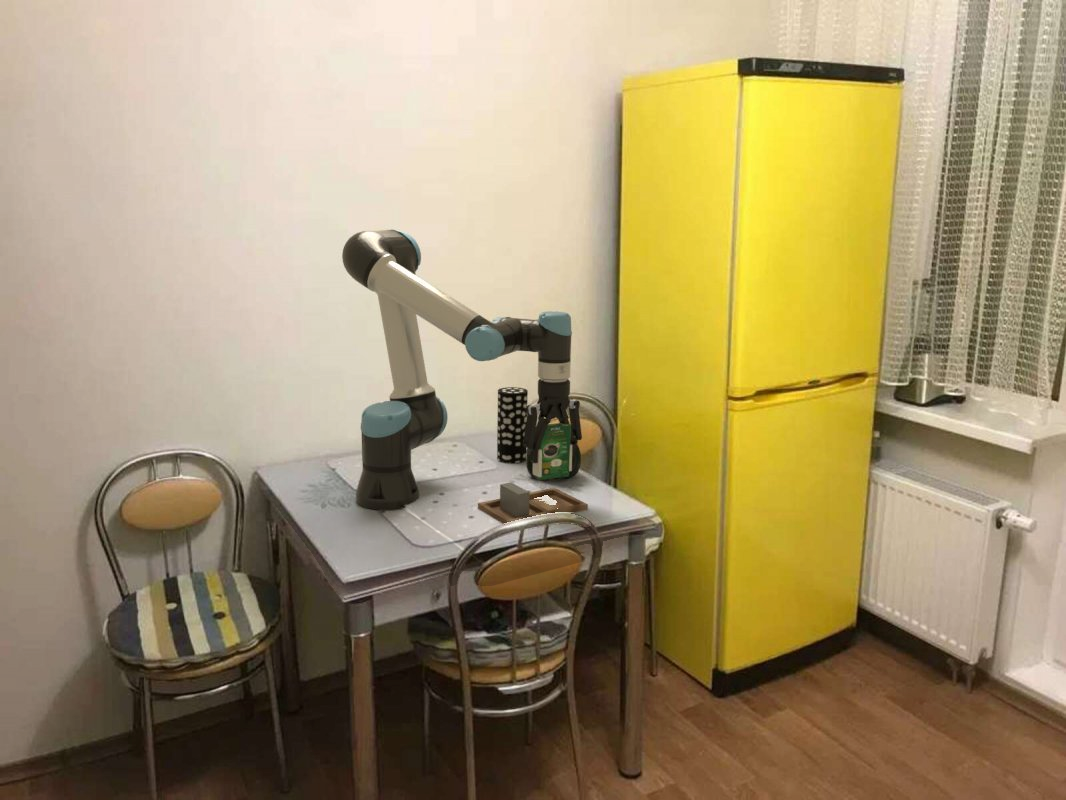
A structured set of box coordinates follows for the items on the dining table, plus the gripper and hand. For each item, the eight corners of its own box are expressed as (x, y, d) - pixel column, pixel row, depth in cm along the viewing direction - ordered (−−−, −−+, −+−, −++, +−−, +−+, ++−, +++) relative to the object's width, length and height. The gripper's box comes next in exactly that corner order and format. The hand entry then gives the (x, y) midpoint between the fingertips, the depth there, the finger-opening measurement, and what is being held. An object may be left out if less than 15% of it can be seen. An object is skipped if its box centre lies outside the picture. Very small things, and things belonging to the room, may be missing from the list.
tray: (509, 530, 192) (509, 521, 192) (477, 511, 203) (477, 503, 203) (587, 512, 204) (587, 504, 203) (553, 495, 215) (554, 487, 215)
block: (518, 519, 197) (518, 494, 195) (499, 508, 203) (500, 484, 202) (529, 516, 198) (529, 492, 197) (510, 506, 205) (511, 482, 203)
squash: (506, 455, 229) (537, 421, 220) (543, 446, 240) (573, 413, 231) (535, 499, 224) (567, 465, 215) (570, 487, 235) (602, 455, 227)
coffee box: (565, 473, 208) (566, 421, 205) (570, 477, 205) (571, 424, 202) (534, 477, 204) (535, 424, 201) (539, 481, 202) (540, 427, 199)
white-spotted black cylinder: (492, 456, 246) (493, 388, 241) (519, 453, 250) (520, 386, 245) (504, 464, 239) (504, 394, 234) (531, 461, 242) (532, 392, 238)
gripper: (525, 386, 190) (524, 484, 196) (599, 377, 202) (596, 469, 207) (507, 380, 197) (506, 475, 202) (580, 371, 208) (578, 461, 213)
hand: (552, 472), depth 204 cm, fingers closed on coffee box, 8 cm apart
